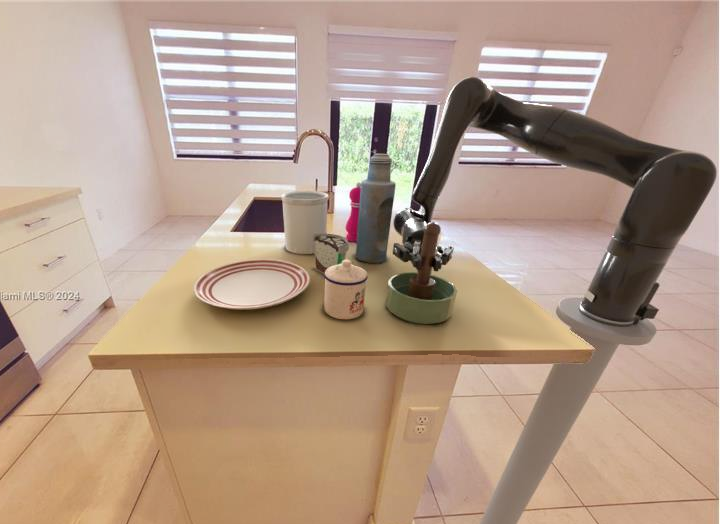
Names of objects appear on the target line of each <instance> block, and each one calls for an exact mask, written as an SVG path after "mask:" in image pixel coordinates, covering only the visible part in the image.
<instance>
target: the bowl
mask: <svg viewBox="0 0 720 524" xmlns="http://www.w3.org/2000/svg"><path fill="white" fill-rule="evenodd" d="M413 276H417V272H402V273H397V274H395V275H393V276H391V277H390V278H389V279H388V282H387V283H388V284H387V288H386V297H385V306H386V308H387V309H388V311H389V312H390V313H392V314H393V315H395V316H396V317H398V318H400V319H402V320H404V321H406V322H410V323H413V324H420V325H433V324H439V323H443V322H445V321H447V320H448V319H450V318H451V317H452V313H453V309H454V306H455V300H456V299H457V298H456V297H457V294H458V290H457V287H456V286H455V285H454V284H453V283H452V282H451V281H449V280H447V279H445V278H443V277H440V276H437V275H434V274H431V276H430V278H432V279H433V280H434V281H435V287H434V291H433V296H432V300H424V299H418V298H413V297H410V296H407V295H408V289H409V283H410V278H411V277H413Z"/></svg>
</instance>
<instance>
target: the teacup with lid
mask: <svg viewBox="0 0 720 524" xmlns="http://www.w3.org/2000/svg"><path fill="white" fill-rule="evenodd" d="M323 278H324V300H323V301H324V303H323V304H324V305H323V308H324V312H325V313H326V314H327V315H328V316H330V317H331V318H334V319H338V320H353V319H356V318H358V317H360V316H361V315H362V314H363V312H364V306H365V296H366V295H365V294H366V286H367V285H366V284H367V280H368V273H367V271H366V270H365V269H364V268H362V267H360V266H357V265H355V264H352V261H351V260H350V259H345V260H343V261H342V264H338V265H334V266H331V267H329V268H327V269H326V271H325V273H324V274H323Z"/></svg>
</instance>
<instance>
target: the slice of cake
mask: <svg viewBox="0 0 720 524" xmlns="http://www.w3.org/2000/svg"><path fill="white" fill-rule="evenodd" d="M313 241H314V248H315V254H314V266H315V270H316V271H318V272H319V273H321V274H323V275H324V273H325V271H326V269H327V268H329V267H331V266H334V265H338V264H342V261H343V260H346V256H347V252H348V251H349V250H350V246H349V241H348V240H347V239H346V237H345V236H342V235H339V234H333V233H327V234H314V237H313Z"/></svg>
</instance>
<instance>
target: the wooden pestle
mask: <svg viewBox="0 0 720 524" xmlns="http://www.w3.org/2000/svg"><path fill="white" fill-rule="evenodd" d="M441 232H442V228H441V226H440V224H439V223H437V222H435V221H431V222H430V223H428V224H427V225H426V226H425V227H424V237H423V243H422V248H421V254H420V256H421V258H422V265H421V270H417V272H416V273H417V276H413V277H411V278H410V283H409V289H408V295H407V296H410V297H413V298H418V299H424V300H432V296H433V291H434V287H435V281H434V280H433V279H432V278H430V276H431V275H432V270H433V267H432V266H433V261H434V256H435V251H436V246H437V243H438V241H439V236H440V234H441Z"/></svg>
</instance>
